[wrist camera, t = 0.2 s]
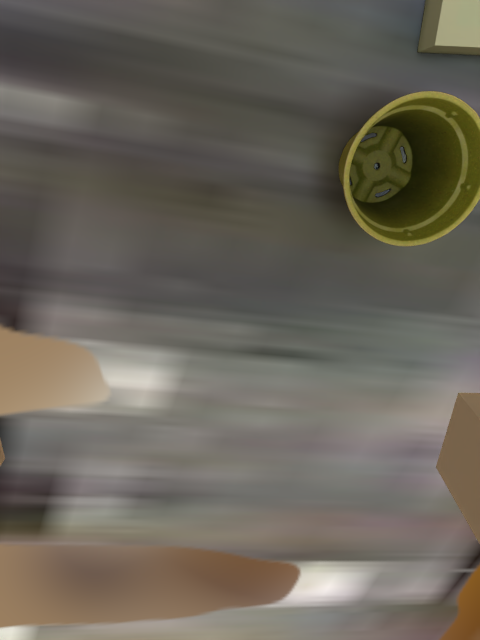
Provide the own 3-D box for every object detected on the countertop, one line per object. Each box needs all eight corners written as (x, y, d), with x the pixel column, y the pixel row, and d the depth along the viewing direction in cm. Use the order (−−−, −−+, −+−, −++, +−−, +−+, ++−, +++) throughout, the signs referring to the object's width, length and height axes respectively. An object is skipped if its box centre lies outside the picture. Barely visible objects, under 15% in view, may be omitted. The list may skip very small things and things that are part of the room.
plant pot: (300, 132, 35) (324, 132, 27) (416, 79, 34) (475, 63, 26) (338, 239, 39) (368, 267, 31) (443, 194, 38) (503, 211, 30)
